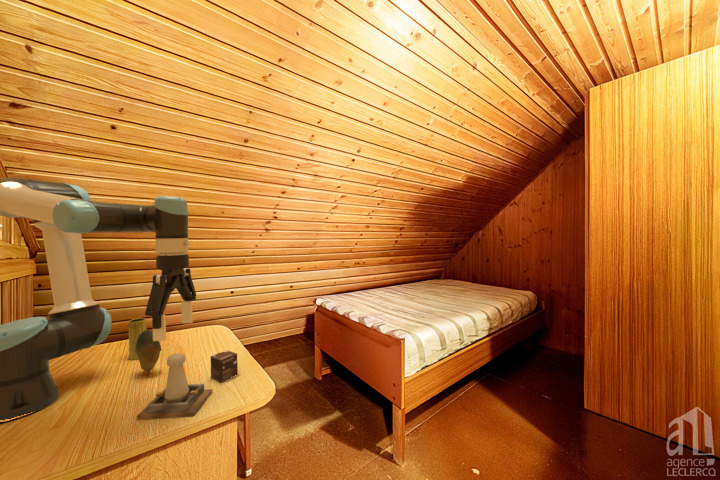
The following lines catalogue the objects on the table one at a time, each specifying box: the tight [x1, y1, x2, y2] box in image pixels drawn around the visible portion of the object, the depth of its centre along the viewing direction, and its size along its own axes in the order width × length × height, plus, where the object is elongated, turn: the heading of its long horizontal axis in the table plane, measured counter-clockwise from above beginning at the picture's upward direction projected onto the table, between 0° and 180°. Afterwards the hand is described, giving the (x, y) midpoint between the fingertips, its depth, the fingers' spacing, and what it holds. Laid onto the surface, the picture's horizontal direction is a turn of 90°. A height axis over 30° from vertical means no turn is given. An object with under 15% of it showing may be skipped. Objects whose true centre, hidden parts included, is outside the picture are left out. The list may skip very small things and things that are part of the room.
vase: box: [128, 317, 147, 361], centre depth 111 cm, size 6×6×14 cm
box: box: [210, 350, 239, 383], centre depth 95 cm, size 6×6×7 cm
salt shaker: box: [164, 352, 189, 403], centre depth 80 cm, size 6×6×13 cm
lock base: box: [136, 383, 213, 420], centre depth 80 cm, size 14×11×4 cm
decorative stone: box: [135, 329, 162, 375], centre depth 97 cm, size 10×6×15 cm, turn 65°
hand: (174, 331), depth 79 cm, fingers open, 13 cm apart
